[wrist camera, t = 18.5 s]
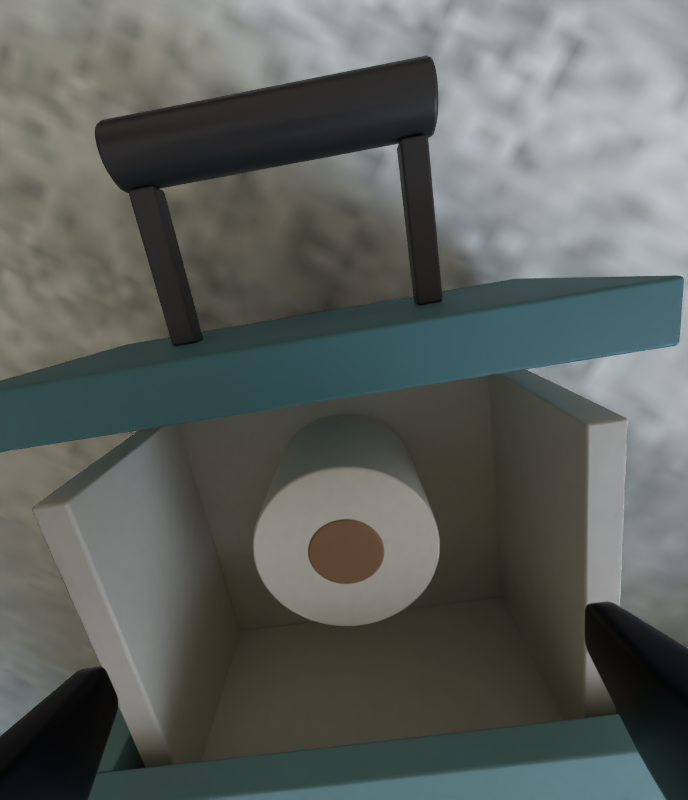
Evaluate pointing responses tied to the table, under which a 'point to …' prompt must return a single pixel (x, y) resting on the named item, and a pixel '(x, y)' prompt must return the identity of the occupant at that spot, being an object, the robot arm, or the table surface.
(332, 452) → the label roll
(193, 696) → the drawer
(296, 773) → the teal cabinet
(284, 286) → the table surface
